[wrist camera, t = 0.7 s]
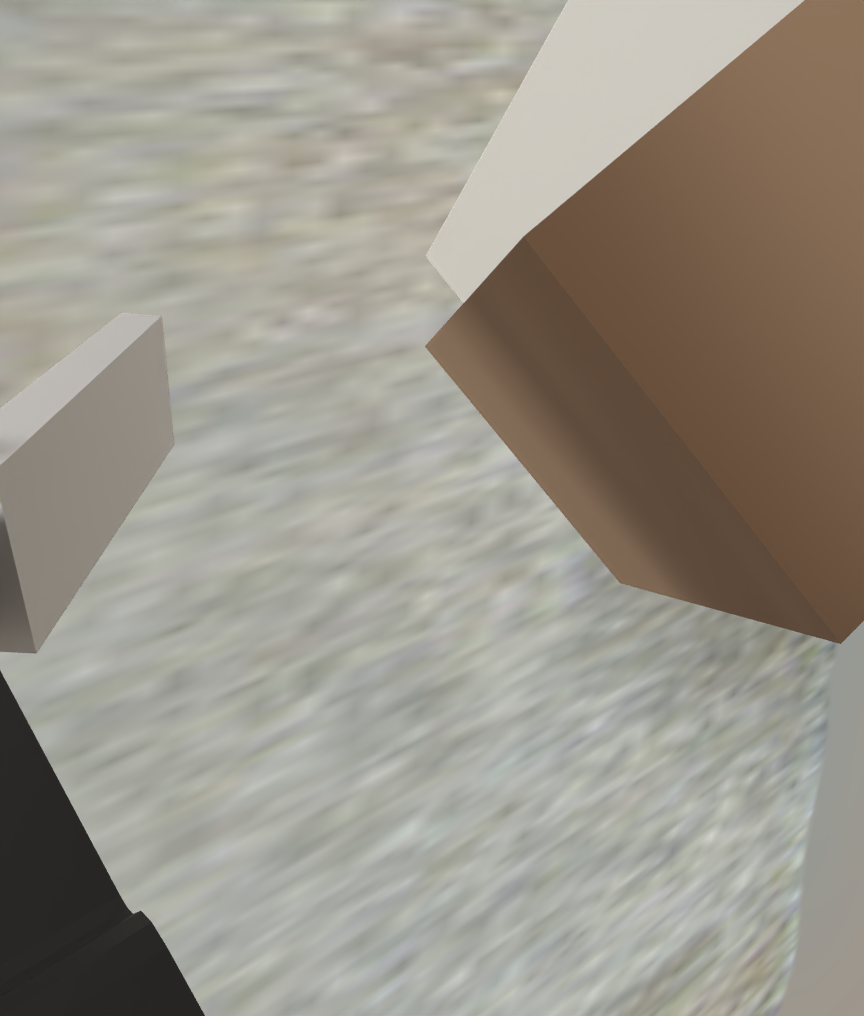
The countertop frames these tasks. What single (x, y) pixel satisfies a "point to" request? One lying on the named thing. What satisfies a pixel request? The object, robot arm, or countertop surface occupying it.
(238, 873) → the countertop surface
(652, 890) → the countertop surface
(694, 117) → the panel with wooden post
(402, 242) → the countertop surface
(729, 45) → the pedestal
